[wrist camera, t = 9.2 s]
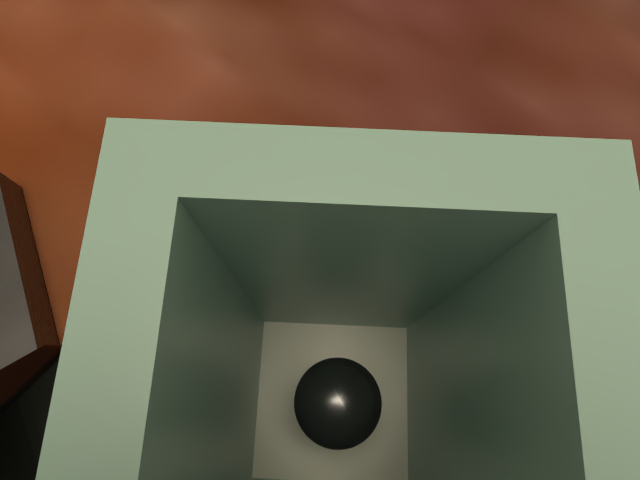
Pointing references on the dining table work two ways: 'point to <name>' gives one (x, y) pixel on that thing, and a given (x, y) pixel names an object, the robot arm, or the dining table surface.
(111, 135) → the sleeve
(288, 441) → the board
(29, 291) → the stand
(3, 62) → the dining table surface
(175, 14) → the dining table surface
